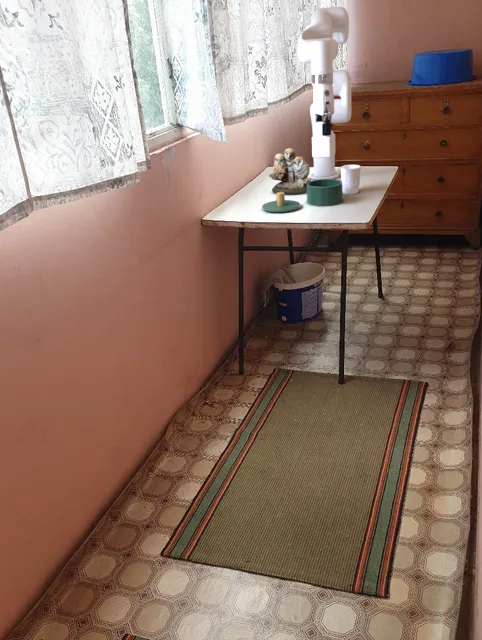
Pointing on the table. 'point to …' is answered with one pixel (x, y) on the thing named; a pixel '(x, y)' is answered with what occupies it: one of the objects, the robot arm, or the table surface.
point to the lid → (281, 204)
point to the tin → (324, 192)
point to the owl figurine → (290, 173)
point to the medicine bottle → (322, 143)
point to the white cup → (350, 179)
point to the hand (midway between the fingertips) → (323, 133)
